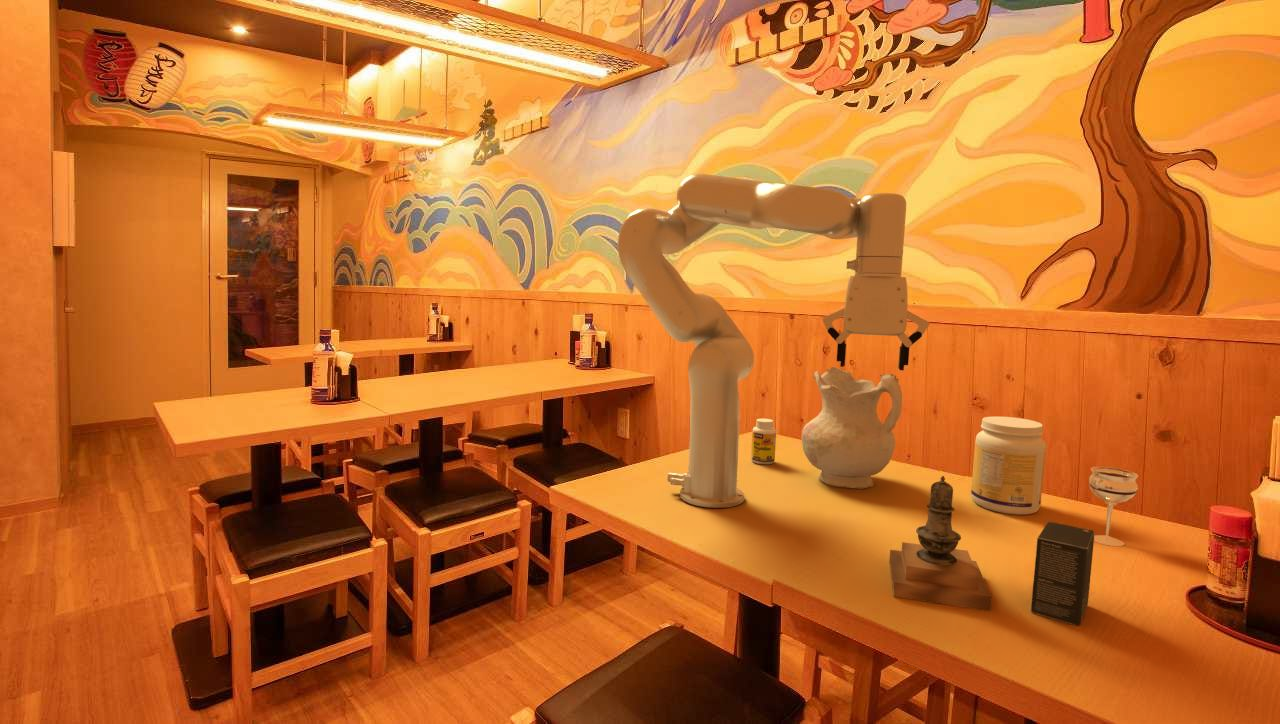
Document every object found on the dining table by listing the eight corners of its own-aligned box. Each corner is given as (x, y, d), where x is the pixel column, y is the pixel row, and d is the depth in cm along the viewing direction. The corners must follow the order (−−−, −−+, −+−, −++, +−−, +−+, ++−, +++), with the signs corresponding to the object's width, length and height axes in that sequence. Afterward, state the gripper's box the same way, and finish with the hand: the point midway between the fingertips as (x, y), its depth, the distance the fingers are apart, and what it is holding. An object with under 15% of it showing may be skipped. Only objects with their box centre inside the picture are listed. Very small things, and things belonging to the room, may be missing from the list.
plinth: (893, 596, 92) (895, 568, 91) (889, 562, 103) (891, 537, 103) (990, 611, 88) (993, 582, 88) (974, 573, 99) (977, 548, 99)
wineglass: (1122, 536, 116) (1130, 469, 115) (1137, 550, 110) (1145, 480, 108) (1077, 530, 118) (1084, 465, 117) (1089, 544, 112) (1097, 475, 110)
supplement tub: (990, 492, 140) (997, 413, 138) (1052, 509, 130) (1060, 424, 128) (957, 502, 133) (964, 418, 131) (1020, 520, 123) (1028, 431, 121)
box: (1040, 592, 94) (1047, 520, 93) (1088, 605, 90) (1096, 530, 89) (1029, 612, 88) (1036, 535, 87) (1079, 627, 84) (1088, 547, 83)
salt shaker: (964, 568, 92) (971, 483, 90) (918, 563, 93) (925, 480, 92) (953, 551, 98) (959, 471, 96) (910, 547, 99) (916, 468, 97)
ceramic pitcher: (915, 489, 144) (926, 374, 143) (880, 503, 130) (892, 375, 128) (822, 469, 158) (832, 365, 157) (782, 480, 144) (791, 365, 142)
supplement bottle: (748, 463, 157) (750, 421, 156) (753, 458, 163) (755, 416, 161) (772, 466, 156) (774, 423, 154) (776, 460, 161) (778, 419, 159)
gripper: (824, 266, 113) (818, 367, 115) (935, 268, 108) (927, 373, 110) (826, 267, 120) (821, 362, 122) (930, 269, 115) (923, 368, 117)
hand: (871, 367), depth 116 cm, fingers open, 9 cm apart
